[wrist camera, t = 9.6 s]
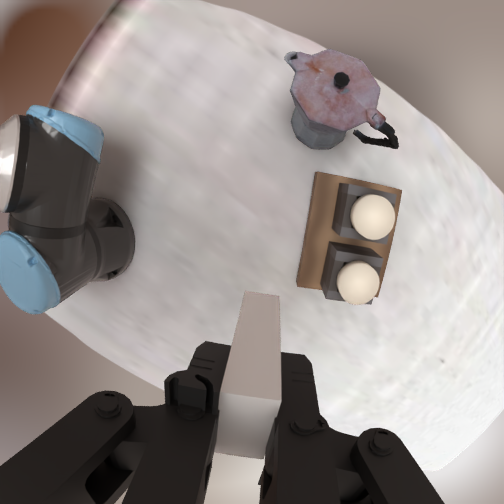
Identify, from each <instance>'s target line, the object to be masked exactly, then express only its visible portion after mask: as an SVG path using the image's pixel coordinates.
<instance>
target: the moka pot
mask: <svg viewBox="0 0 504 504" xmlns="http://www.w3.org/2000/svg"><path fill="white" fill-rule="evenodd" d="M285 61H286V62H287V63H288V64H289V65H290V66H291V67H292V69H293V70H294V71H295V76H294V79H293V83H292V86H291V89H290V92H291V95H292V97H293V100H294V103H295V106H296V107H295V110H294V113H293V116H292V120H291V123H292V127H293V130H294V133H295V135H296V137H297V139H299V140H300V141H301V142H303V143H304V144H305V145H307V146H308V147H310V148H313V149H331V148H332V147H334V146H335V145H337V144H338V143H340V142H341V141H343V140H344V137H345V134H346V132H347V131H348V130H350V129H352V128H354V127H356V126H358V125H360V124H363V123H365V122H368V123H369V124H370V126H371V127H372V128H374V129H375V130H378V131H380V132H382V133H383V134H385V135H386V136H387V137H388V139H387V138H384V139H375V138H370V137H367V136H365V135H363V134H362V133H361V132H360V131H358V130H356V131H355V130H354V132H353V134H354V135H355V136H356V137H358V138H359V139H360V140H361V142H362V143H365V144H371V145H378V146H384V147H390V148H393V149H398V147H399V145H398V144H399V143H398V138H397V136H395V135H394V133H395V130H394V129H393V127H391V126H390V125H389V124H388V123H386V122H385V120H386V118H385V117H384V116H383V115H382V114H381V113H380V112H379V111H378V110H377V109H376V108H377V103H378V99H379V94H380V87H379V85H378V84H377V82H376V80H375V79H374V77H373V76H372V74H371V73H370V71H369V69H368V68H367V67H366V65H365V64H364V62H363V61H362V60H360V59H357V58H355V57H352V56H349V55H346V54H343V53H340V52H337V51H335V50H331V49H327V50H324V51H322V52H319V53H317V54H314V55H309V54H305V53H302V52H289V53H287V54H286V56H285Z"/></svg>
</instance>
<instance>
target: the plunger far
mask: <svg viewBox="0 0 504 504" xmlns="http://www.w3.org/2000/svg"><path fill="white" fill-rule="evenodd" d="M379 283H380V282H379V276H378V274H377V272H376V271H375V270H374V269H373V268H372V267H371V266H370V265H369V264H368V263H366V262H364V261H352V262H344V264H343V268H342V269H341V270H340V272H339V274H338V276H337V288H338V290H339V292H340V294H341V296H342V298H343V299H344V300H345V301H346V302H348V303H350V304H353V305H361V304H365V303H367V302H368V301H370V300H371V299H372V298H373V297H374V296H375V295H376V293H377V291H378V289H379Z"/></svg>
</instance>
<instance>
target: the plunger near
mask: <svg viewBox="0 0 504 504" xmlns="http://www.w3.org/2000/svg"><path fill="white" fill-rule="evenodd" d="M350 218H351V223H352V225H353V227H354V229H355V230H356V231H357V232H358V233H359V234H361V235H362V236H364V237H365V238H367V239H371V240H377V239H381V238H383V237H385V236H386V235H387V234H388V233H389V232H390V231H391V230H392V228H393V226H394V222H395V212H394V209H393V206H392V205H391V203H390V202H389V201H388V200H387V199H386V198H384V197H382V196H378V195H373V194H367V195H364V196H361V197H360V198H358V199H357V200H356V201H355V203H354V204H353V206H352V209H351V213H350Z"/></svg>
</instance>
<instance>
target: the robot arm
mask: <svg viewBox="0 0 504 504" xmlns="http://www.w3.org/2000/svg"><path fill="white" fill-rule="evenodd" d="M26 115H27V116H23V115H13V116H12V117H11V118H9V119H8V120H7V121H6V122H4V123H3V124H2V125H0V212H2V213H8V212H10V218H9V230H8V231H5V232H3V233H2V234H1V235H0V285H1V286H2V288H3V290H4V291H5V293H6V295H7V296H8V297H9V299H10V300H11V301H12V302H13V303H14V304H15V305H16V306H17V307H18V308H20V309H22V310H23V311H25V312H27V313H30V314H40V313H43V312H45V311H47V310H48V309H50V308H54V307H56V306H57V305H58V304H59V303H61V302H62V301H63V300H65V299H66V298H68V297H69V296H70V295H72V294H73V293H75V292H76V291H78V290H79V289H80V288H82V287H83V286H85V285H86V284H87V283H89V282H98V281H107V280H110V279H113V278H115V277H116V276H118V275H119V274H121V273H122V272H123V271H124V270H125V269H126V268H127V267H128V265H129V264H130V262H131V260H132V257H133V254H134V248H135V238H134V232H133V228H132V225H131V223H130V220H129V218H128V217H127V215H126V214H125V212H124V211H123V210H122V209H121V208H120V207H119V206H118V205H117V204H115V203H114V202H112V201H110V200H108V199H104V198H94V199H91V195H92V191H93V186H94V181H95V177H96V172H97V168H98V164H100V162H101V160H100V155H101V150H102V146H103V141H104V133H103V131H102V129H101V128H100V127H99V126H98V125H96V124H94V123H92V122H90V121H88V120H85V119H83V118H80V117H77V116H75V115H72V114H69V113H66V112H62V111H59V110H54V109H51V108H48V107H44V106H39V105H32V106H31V107H30V108H29V110H28V111H27V113H26ZM314 382H315V381H314V375H313V369H312V364H311V362H310V361H309V360H308V358H307V357H306V356H305V355H301V354H293V353H284V352H281V339H280V302H279V296H275V295H268V294H262V293H255V292H249V291H245V294H244V298H243V302H242V306H241V310H240V314H239V318H238V322H237V326H236V330H235V334H234V338H233V342H232V346H230V345H224V344H219V343H213V342H208V341H205V342H204V343H203V344H201V345H200V346H198V347H197V348H196V351H195V353H194V355H193V358H192V360H191V362H190V365H189V367H188V369H187V370H184V371H177V372H175V373H173V374H171V375H169V376H168V377H167V378H166V380H165V381H164V387H165V404H163V405H159V406H133V405H132V403H131V401H130V399H129V398H127V397H126V396H125V395H123V394H121V393H118V392H115V391H101V392H97V393H95V394H93V395H91V396H89V397H88V398H87V399H86V400H84V401H83V402H82V403H81V404H79V405H78V406H77V407H76V408H74V409H73V410H72V411H70V412H69V413H68V414H67V415H65V416H64V417H63V418H62V419H60V420H59V421H58V422H56V423H55V424H54V425H53V426H52V427H50V428H49V429H48V430H46V431H45V432H44V433H43V434H41V435H40V436H39V437H37V438H36V439H35V440H33V441H32V442H31V443H30V444H28V445H27V446H26V447H24V448H23V449H22V450H21V451H19V452H18V453H17V454H15V455H14V456H13V457H12V458H10V459H9V460H8V461H6V462H5V463H4V464H2V465H1V466H0V504H114V503H115V502H116V501H117V500H118V499H119V497H120V496H121V495H122V494H123V493H124V492H125V491H126V489H127V488H128V487H129V488H128V490H127V492H126V495H125V497H124V499H123V502H122V504H204V500H205V495H206V490H207V485H208V481H209V477H210V472H211V468H212V458H213V454H214V452H216V453H222V454H228V455H234V456H241V457H248V458H257V459H264V456H265V465H264V468H263V471H262V474H261V477H260V480H259V482H258V485H261V488H260V502H259V504H444V502H443V501H442V499H441V498H440V496H439V495H438V493H437V492H436V490H435V489H434V487H433V486H432V484H431V483H430V482H429V480H428V479H427V477H426V476H425V474H424V473H423V471H422V470H421V468H420V467H419V465H418V464H417V462H416V461H415V460H414V458H413V457H412V455H411V454H410V452H409V451H408V449H407V448H406V447H405V445H404V444H403V442H402V441H401V439H400V438H399V437H398V436H397V435H396V434H395V433H393V432H391V431H389V430H387V429H382V428H370V429H368V430H366V431H363V432H362V434H361V435H360V436H359V437H356V436H352V435H348V434H344V433H341V432H338V431H335V430H334V429H332V428H330V427H329V425H328V423H327V421H326V420H325V419H324V418H323V417H322V416H321V415H320V413H319V406H318V400H317V393H316V387H315V383H314Z"/></svg>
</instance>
